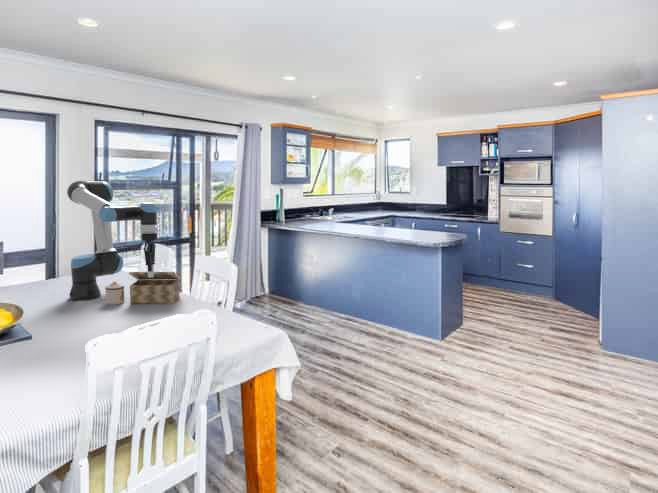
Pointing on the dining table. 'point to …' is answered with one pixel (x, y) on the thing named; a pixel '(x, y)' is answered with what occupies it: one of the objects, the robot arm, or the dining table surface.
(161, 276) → the lid flap
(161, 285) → the wicker basket box
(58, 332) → the dining table surface
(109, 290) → the teacup with lid
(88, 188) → the robot arm
